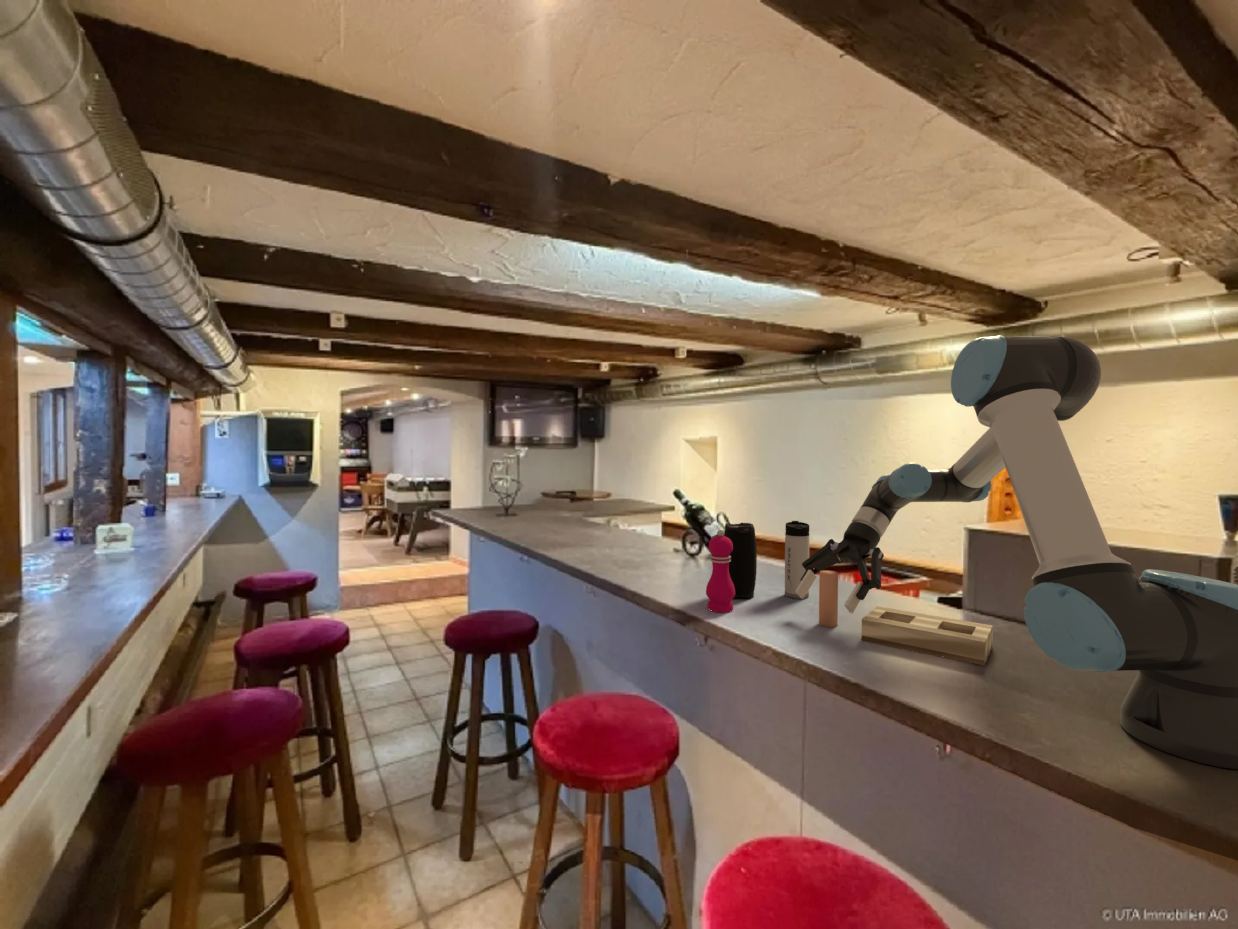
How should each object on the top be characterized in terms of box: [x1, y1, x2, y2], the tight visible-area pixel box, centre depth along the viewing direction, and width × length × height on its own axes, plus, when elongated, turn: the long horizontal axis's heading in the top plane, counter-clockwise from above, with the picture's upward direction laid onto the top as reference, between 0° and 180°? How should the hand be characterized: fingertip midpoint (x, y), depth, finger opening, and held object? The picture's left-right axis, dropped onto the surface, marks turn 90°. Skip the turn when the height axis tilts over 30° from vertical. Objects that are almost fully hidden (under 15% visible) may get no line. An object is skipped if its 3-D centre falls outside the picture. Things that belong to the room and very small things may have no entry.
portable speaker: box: [724, 522, 758, 600], centre depth 154 cm, size 9×9×20 cm
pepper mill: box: [705, 529, 735, 613], centre depth 142 cm, size 7×7×20 cm
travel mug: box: [784, 520, 810, 600], centre depth 154 cm, size 6×7×20 cm
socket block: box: [860, 605, 994, 666], centre depth 118 cm, size 12×22×4 cm, turn 51°
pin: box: [818, 570, 839, 628], centre depth 130 cm, size 4×4×12 cm
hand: (822, 602), depth 129 cm, fingers open, 13 cm apart
